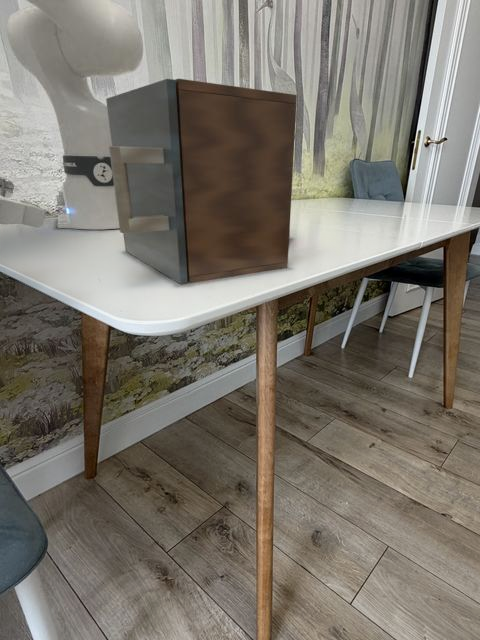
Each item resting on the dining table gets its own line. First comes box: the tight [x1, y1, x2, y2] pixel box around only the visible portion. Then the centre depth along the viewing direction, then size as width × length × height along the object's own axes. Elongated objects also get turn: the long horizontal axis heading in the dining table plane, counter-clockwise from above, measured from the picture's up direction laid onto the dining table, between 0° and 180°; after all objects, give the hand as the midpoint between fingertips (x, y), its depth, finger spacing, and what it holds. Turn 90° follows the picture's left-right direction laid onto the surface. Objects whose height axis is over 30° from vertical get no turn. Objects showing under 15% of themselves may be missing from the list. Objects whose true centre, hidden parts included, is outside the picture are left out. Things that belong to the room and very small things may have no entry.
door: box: [105, 78, 189, 285], centre depth 52 cm, size 7×22×22 cm, turn 35°
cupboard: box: [174, 78, 298, 284], centre depth 58 cm, size 16×22×22 cm
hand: (25, 202), depth 40 cm, fingers open, 8 cm apart
